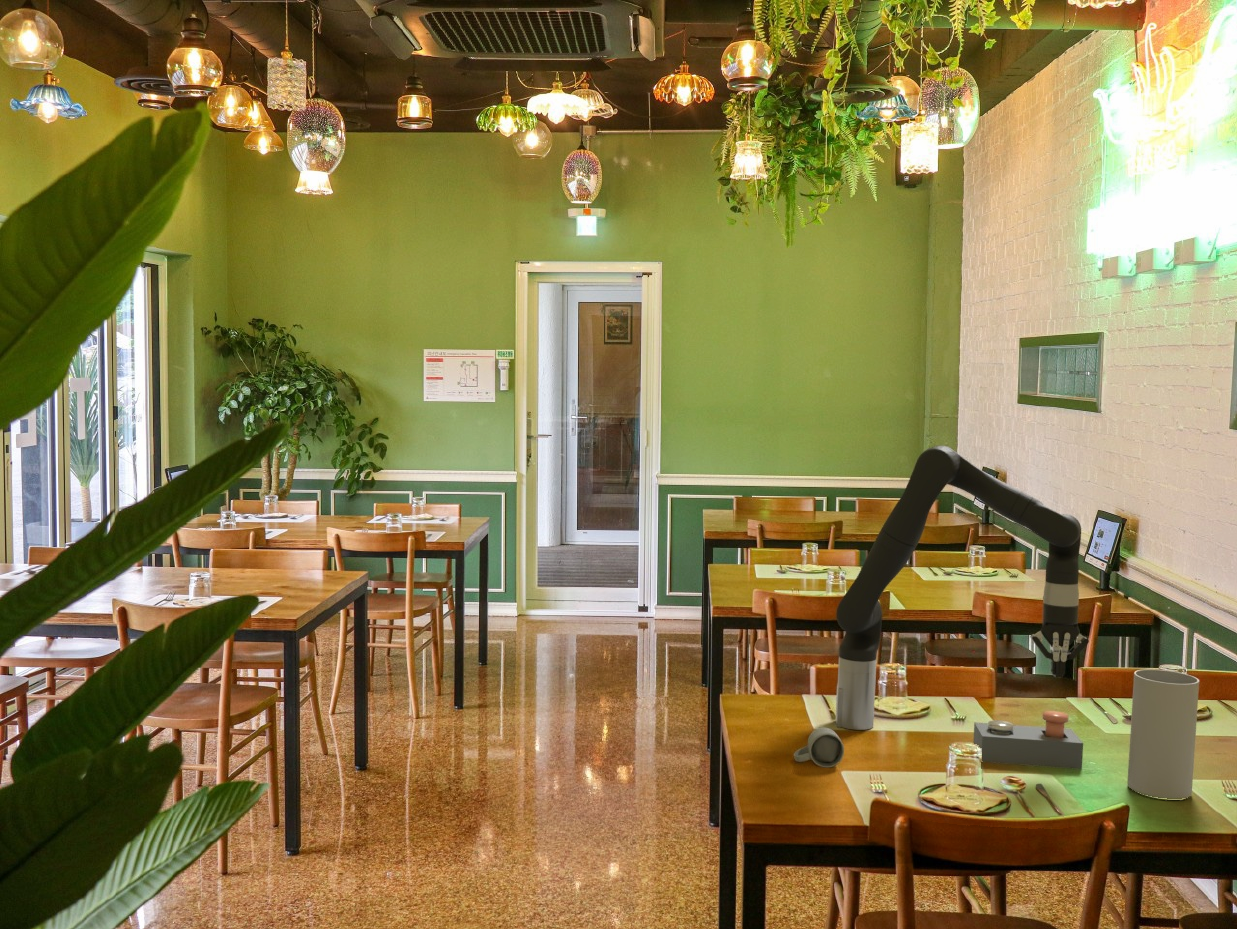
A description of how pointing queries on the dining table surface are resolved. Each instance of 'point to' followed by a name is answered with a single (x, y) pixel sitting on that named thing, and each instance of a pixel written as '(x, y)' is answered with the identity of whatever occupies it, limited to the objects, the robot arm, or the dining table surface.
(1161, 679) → the cylinder vase
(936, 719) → the dining table surface
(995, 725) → the steel plunger
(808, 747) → the ceramic mug
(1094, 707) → the dining table surface
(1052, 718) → the terracotta plunger
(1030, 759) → the plunger housing
